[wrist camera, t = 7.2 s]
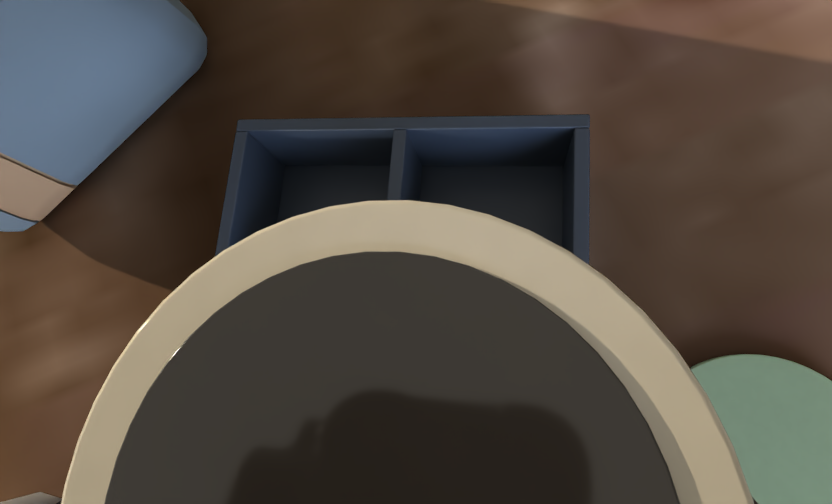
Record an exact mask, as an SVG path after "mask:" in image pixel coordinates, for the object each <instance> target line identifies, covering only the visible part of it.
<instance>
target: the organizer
mask: <svg viewBox="0 0 832 504" xmlns="http://www.w3.org/2000/svg"><path fill="white" fill-rule="evenodd" d="M589 127H590V116H589V115H588V114H579V115H513V116H447V117H381V118H315V119H249V120H238V123H237V129H236V131H237V132H236V134H235V140H234V146H233V152H232V158H231V164H230V170H229V176H228V182H227V188H226V193H225V199H224V205H223V211H222V217H221V223H220V229H219V235H218V241H217V247H216V252H215V256H217V255H218V254H220V253H221V252H222V251H224V250H225V249H227V248H229V247H231V246H232V245H234V244H236V243H238V242H240V241H241V240H243V239H245V238H247V237H248V236H250V235H252V234H254V233H255V232H257V231H260V230H262V229H264V228H267V227H269V226H272V225H274V224H276V223H279V222H281V221H284V220H286V219H288V218H291V217H294V216H297V215H301V214H304V213H308V212H312V211H315V210H319V209H323V208H326V207H330V206H336V205H343V204H349V203H356V202H363V201H374V200H414V201H423V202H432V203H441V204H450V205H454V206H458V207H462V208H466V209H470V210H474V211H478V212H482V213H487V214H490V215H493V216H496V217H498V218H501V219H503V220H506V221H509V222H511V223H514V224H516V225H519V226H522V227H524V228H527V229H529V230H531V231H533V232H535V233H537V234H539V235H541V236H543V237H544V238H546V239H548V240H550V241H552V242H554V243H556V244H558V245H559V246H561V247H563V248H565V249H567V250H569V251H570V252H572V253H573V254H575V255H576V256H577V257H579V258H580V259H582V260H583V261H584V262H586V263H587V264H589V174H590V130H589Z"/></svg>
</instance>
